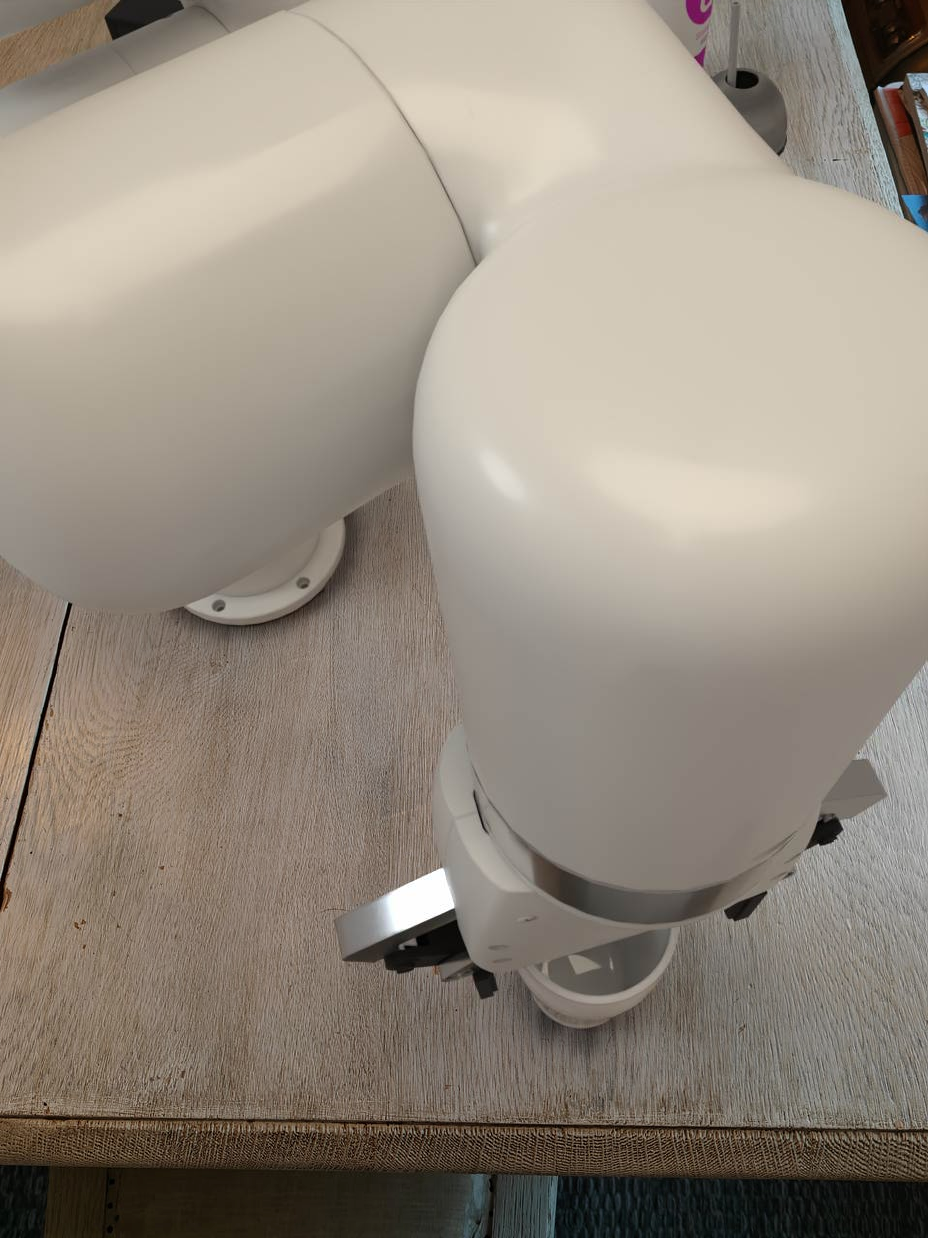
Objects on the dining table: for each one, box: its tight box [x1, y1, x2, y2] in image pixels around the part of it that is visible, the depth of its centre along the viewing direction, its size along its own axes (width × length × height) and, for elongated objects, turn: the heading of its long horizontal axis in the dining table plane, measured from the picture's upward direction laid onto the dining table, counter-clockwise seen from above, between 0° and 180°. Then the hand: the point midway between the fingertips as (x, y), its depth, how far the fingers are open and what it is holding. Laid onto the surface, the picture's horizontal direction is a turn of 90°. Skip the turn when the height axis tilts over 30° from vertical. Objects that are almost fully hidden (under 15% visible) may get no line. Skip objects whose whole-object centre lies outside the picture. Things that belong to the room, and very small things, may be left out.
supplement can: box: [646, 0, 714, 69], centre depth 78 cm, size 8×8×15 cm
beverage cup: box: [709, 0, 788, 158], centre depth 65 cm, size 7×7×20 cm
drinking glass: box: [516, 927, 680, 1029], centre depth 43 cm, size 7×7×15 cm
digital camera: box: [104, 0, 184, 41], centre depth 88 cm, size 10×5×7 cm, turn 68°
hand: (600, 917), depth 36 cm, fingers open, 9 cm apart
